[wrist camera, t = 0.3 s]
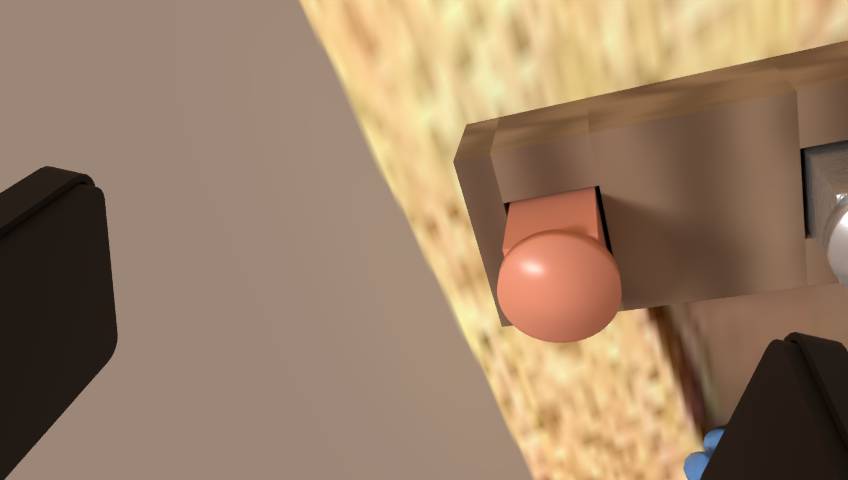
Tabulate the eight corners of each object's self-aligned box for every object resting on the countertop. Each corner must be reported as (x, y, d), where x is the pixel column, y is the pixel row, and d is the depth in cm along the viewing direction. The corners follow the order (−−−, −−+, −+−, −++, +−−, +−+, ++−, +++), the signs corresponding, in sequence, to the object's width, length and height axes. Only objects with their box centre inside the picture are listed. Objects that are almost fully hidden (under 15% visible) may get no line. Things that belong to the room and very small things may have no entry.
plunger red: (520, 278, 45) (512, 349, 39) (496, 191, 43) (484, 251, 37) (622, 263, 44) (630, 334, 37) (604, 170, 41) (610, 231, 35)
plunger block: (508, 277, 51) (501, 326, 46) (466, 124, 46) (453, 161, 41) (918, 215, 44) (964, 265, 39) (923, 23, 39) (977, 54, 34)
